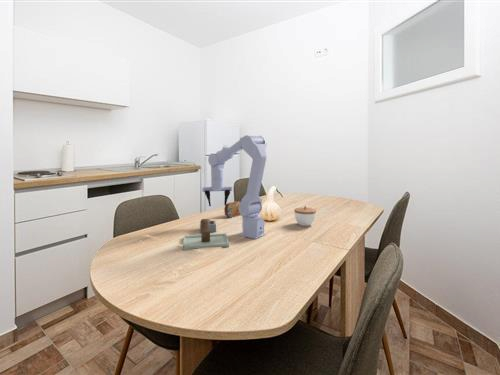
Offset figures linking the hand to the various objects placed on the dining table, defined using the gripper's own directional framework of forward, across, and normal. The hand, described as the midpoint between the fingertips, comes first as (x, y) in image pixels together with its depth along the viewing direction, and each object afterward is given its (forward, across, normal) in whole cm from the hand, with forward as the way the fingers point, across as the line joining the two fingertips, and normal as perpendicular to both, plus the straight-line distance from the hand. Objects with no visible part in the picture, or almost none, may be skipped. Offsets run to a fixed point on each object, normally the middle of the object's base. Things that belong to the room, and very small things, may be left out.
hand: (217, 205), depth 142 cm
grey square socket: (+10, +5, +9) cm, 15 cm away
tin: (+11, -11, -19) cm, 24 cm away
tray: (+10, +7, +25) cm, 28 cm away
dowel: (+10, +7, +25) cm, 28 cm away
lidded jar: (+11, -44, +6) cm, 45 cm away
